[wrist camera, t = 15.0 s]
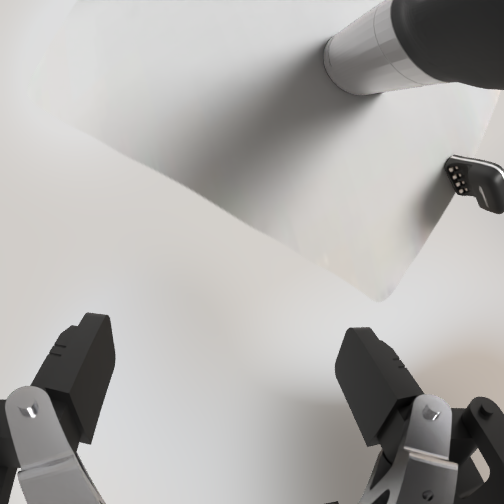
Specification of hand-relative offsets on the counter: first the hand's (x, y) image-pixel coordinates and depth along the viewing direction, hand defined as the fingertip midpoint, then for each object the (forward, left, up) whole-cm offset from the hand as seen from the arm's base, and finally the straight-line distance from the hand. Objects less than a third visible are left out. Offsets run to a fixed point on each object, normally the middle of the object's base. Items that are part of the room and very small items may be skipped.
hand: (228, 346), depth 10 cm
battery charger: (-35, -7, -30) cm, 47 cm away
